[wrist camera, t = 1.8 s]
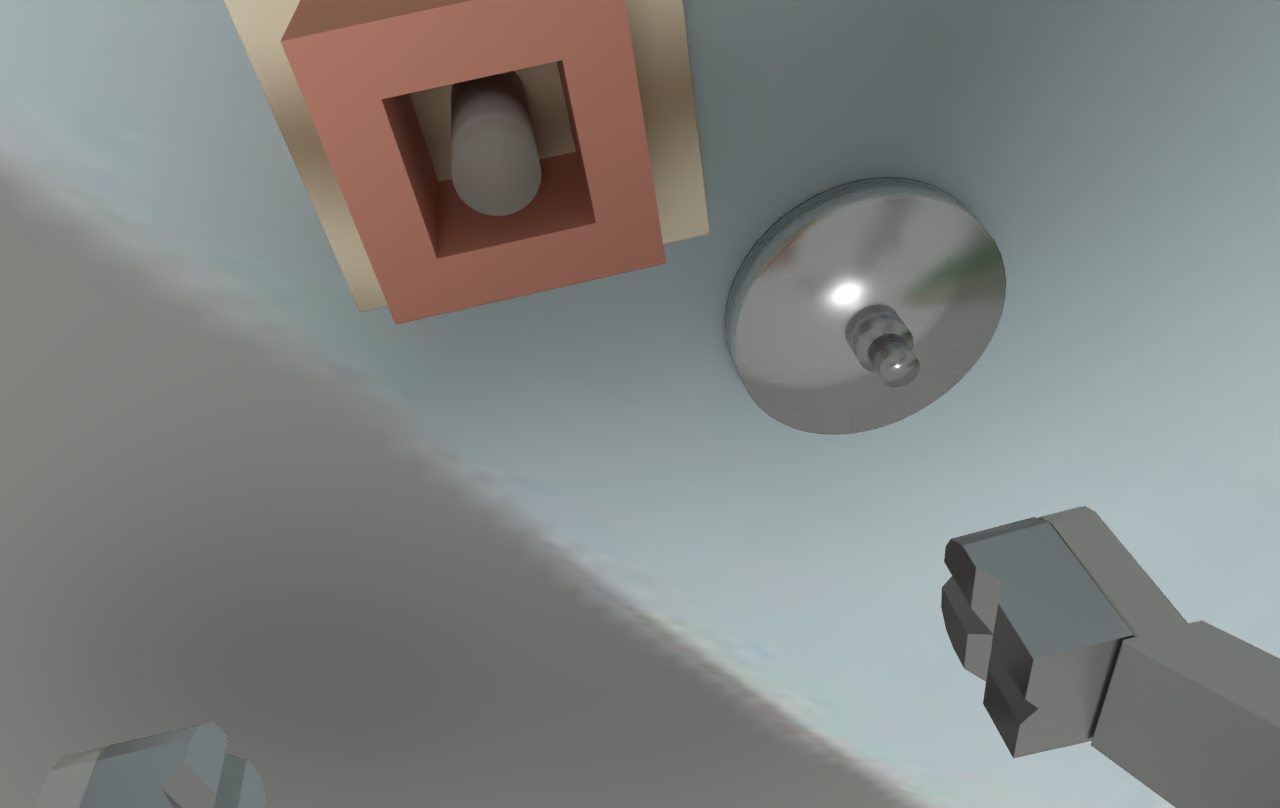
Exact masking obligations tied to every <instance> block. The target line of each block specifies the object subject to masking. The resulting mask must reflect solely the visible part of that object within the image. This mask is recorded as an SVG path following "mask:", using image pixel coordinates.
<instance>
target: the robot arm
mask: <svg viewBox="0 0 1280 808" xmlns="http://www.w3.org/2000/svg"><path fill="white" fill-rule="evenodd" d="M944 562H945V564H946V566H947V567H948V569H949V571H950V572H951V574H952V577H951V578H950V579H949V580H948V581H947V582H946V584H945V585H944V586H943V587H942V602H941V608H942V612H943V617H944V622H945V626H946V630H947V633H948V635H949V638H950V641H951V643H952V646H953V648H954V650H955V652H956V654H957V656H958V658H959V660H960V661H961V663H962V665H963V667H964V668H965V669H966V670H968V671H969V672H971V673H973V674H974V675H976V676H978V677H979V678H981V679H983V680H984V681H986V686H985V694H984V701H983V704H984V706H985V708H986V710H987V711H988V713H989V715H990V717H991V719H992V720H993V722H994V724H995V726H996V728H997V729H998V731H999V733H1000V735H1001V737H1002V738H1003V740H1004V742H1005V744H1006V746H1007V748H1008V749H1009V751H1010V753H1011V755H1012V757H1013V758H1017V757H1021V756H1026V755H1030V754H1035V753H1039V752H1044V751H1048V750H1052V749H1057V748H1061V747H1066V746H1070V745H1075V744H1079V743H1084V742H1088V741H1092V743H1091V746H1093V747H1094V748H1095V749H1097V750H1098V751H1099V752H1101V753H1102V754H1104V755H1105V756H1106V757H1108V758H1109V759H1110V760H1112V761H1113V762H1114V763H1116V764H1117V765H1119V766H1120V767H1121V768H1123V769H1124V770H1125V771H1127V772H1128V773H1129V774H1131V775H1132V776H1134V777H1135V778H1136V779H1138V780H1139V781H1140V782H1142V783H1143V784H1144V785H1146V786H1147V787H1149V788H1150V789H1151V790H1153V791H1154V792H1155V793H1157V794H1158V795H1159V796H1161V797H1162V798H1163V799H1165V800H1166V801H1168V802H1169V803H1170V804H1172V805H1173V806H1174V807H1176V808H1280V658H1278V657H1275V656H1273V655H1271V654H1269V653H1267V652H1265V651H1263V650H1261V649H1259V648H1257V647H1255V646H1253V645H1251V644H1249V643H1247V642H1245V641H1243V640H1241V639H1239V638H1237V637H1235V636H1233V635H1231V634H1229V633H1227V632H1225V631H1223V630H1220V629H1218V628H1216V627H1214V626H1212V625H1210V624H1208V623H1206V622H1204V621H1198V622H1193V623H1187V621H1186V620H1185V619H1184V618H1183V617H1182V615H1181V614H1180V613H1179V612H1178V611H1177V609H1176V608H1175V607H1174V606H1173V605H1172V603H1171V602H1170V601H1169V600H1168V599H1167V597H1166V596H1165V595H1164V594H1163V593H1162V591H1161V590H1160V589H1159V588H1158V587H1157V585H1156V584H1155V583H1154V582H1153V581H1152V579H1151V578H1150V577H1149V576H1148V574H1147V573H1146V572H1145V571H1144V570H1143V568H1142V567H1141V566H1140V565H1139V564H1138V562H1137V561H1136V560H1135V559H1134V558H1133V556H1132V555H1131V554H1130V553H1129V552H1128V550H1127V549H1126V548H1125V547H1124V546H1123V544H1122V543H1121V542H1120V541H1119V540H1118V538H1117V537H1116V536H1115V535H1114V534H1113V532H1112V531H1111V530H1110V529H1109V528H1108V526H1107V525H1106V524H1105V523H1104V521H1103V520H1102V519H1101V518H1100V517H1099V515H1098V514H1097V513H1096V512H1095V511H1093V510H1091V509H1089V508H1088V507H1086V506H1083V507H1077V508H1073V509H1069V510H1065V511H1061V512H1058V513H1054V514H1050V515H1046V516H1042V517H1039V518H1035V517H1033V518H1029V519H1025V520H1021V521H1017V522H1014V523H1010V524H1006V525H1002V526H998V527H994V528H991V529H987V530H983V531H979V532H975V533H971V534H968V535H964V536H960V537H956V538H952V539H950V541H949V542H948V544H947V545H946V549H945V559H944ZM227 741H228V737H227V736H226V735H225V734H224V733H223V732H222V731H221V730H220V729H219V728H218V727H217V726H216V725H215V724H214V723H213V722H210V723H206V724H201V725H197V726H192V727H188V728H183V729H179V730H175V731H170V732H166V733H161V734H157V735H152V736H148V737H143V738H139V739H134V740H130V741H125V742H121V743H116V744H111V745H107V746H103V747H99V748H95V749H90V750H86V751H82V752H78V753H73V754H69V755H65V756H62V757H61V758H60V759H59V760H58V762H57V763H56V764H55V765H54V766H53V767H52V768H51V770H50V771H49V772H48V774H47V776H46V779H45V781H44V784H43V786H42V789H41V791H40V794H39V797H38V799H37V802H36V804H35V807H34V808H266V806H265V794H264V787H263V785H262V783H261V780H260V778H259V775H258V773H257V771H256V769H255V768H254V767H253V766H252V765H251V763H250V762H249V761H248V760H247V759H245V758H242V757H238V756H235V755H232V754H229V753H226V752H225V751H226V746H227Z"/></svg>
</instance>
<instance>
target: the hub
mask: <svg viewBox="0 0 1280 808" xmlns="http://www.w3.org/2000/svg"><path fill="white" fill-rule="evenodd" d="M1005 291H1006V277H1005V268H1004V264H1003V260H1002V257H1001V253H1000V251H999V249H998V247H997V245H996V243H995V241H994V240H993V238H992V237H991V236H990V234H989V233H988V232H987V230H986V229H985V228H984V227H983V226H982V225H981V224H980V223H979V222H978V221H977V220H976V219H975V218H974V217H973V216H972V215H971V214H970V213H969V212H968V211H967V210H966V209H965V208H964V207H962V206H961V205H960V204H959V203H958V202H957V201H956V200H955V199H954V198H953V197H951V196H950V195H948V194H946V193H945V192H943V191H942V190H940V189H938V188H935V187H933V186H931V185H928V184H926V183H922V182H918V181H914V180H910V179H900V178H874V179H867V180H861V181H855V182H852V183H848V184H845V185H841V186H838V187H835V188H833V189H830V190H828V191H826V192H823V193H821V194H818V195H817V196H815V197H813V198H811V199H809V200H808V201H806V202H804V203H802V204H800V205H799V206H798V207H796V208H795V209H793V210H792V211H790V212H789V213H788V214H786V215H785V216H784V217H782V218H781V219H780V220H779V221H778V222H777V223H776V224H774V225H773V226H772V227H771V228H770V229H769V230H768V231H767V232H766V233H765V234H764V235H763V236H762V238H761V239H760V240H759V241H758V242H757V243H756V245H755V246H754V247H753V249H752V250H751V251H750V253H749V254H748V255H747V257H746V258H745V260H744V262H743V264H742V266H741V267H740V269H739V271H738V273H737V275H736V277H735V280H734V282H733V285H732V287H731V290H730V294H729V298H728V302H727V307H726V316H725V330H726V338H727V343H728V348H729V350H730V353H731V356H732V358H733V361H734V363H735V365H736V368H737V370H738V372H739V375H740V377H741V379H742V382H743V384H744V386H745V388H746V390H747V391H748V393H749V395H750V396H751V398H752V399H753V400H754V401H755V403H756V404H757V405H758V406H759V407H760V408H761V409H762V410H763V411H764V412H766V413H767V414H768V415H769V416H771V417H772V418H774V419H776V420H777V421H779V422H781V423H783V424H785V425H787V426H790V427H792V428H795V429H798V430H802V431H806V432H811V433H818V434H850V433H858V432H863V431H868V430H872V429H876V428H879V427H883V426H886V425H889V424H891V423H894V422H897V421H899V420H902V419H904V418H906V417H908V416H910V415H912V414H914V413H916V412H918V411H920V410H921V409H923V408H924V407H926V406H928V405H929V404H931V403H933V402H934V401H935V400H937V399H938V398H939V397H941V396H942V395H944V394H945V393H946V392H947V391H948V390H950V389H951V388H952V387H953V386H954V385H955V384H956V383H958V382H959V381H960V380H961V379H962V378H963V376H964V375H965V374H966V373H967V372H968V371H969V370H970V369H971V368H972V367H973V365H974V364H975V363H976V361H977V360H978V359H979V358H980V356H981V355H982V353H983V352H984V350H985V349H986V347H987V345H988V344H989V342H990V340H991V338H992V336H993V334H994V332H995V330H996V328H997V325H998V322H999V320H1000V317H1001V314H1002V310H1003V305H1004V300H1005Z"/></svg>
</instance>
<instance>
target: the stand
mask: <svg viewBox="0 0 1280 808" xmlns="http://www.w3.org/2000/svg"><path fill="white" fill-rule="evenodd" d="M224 1H225V4H226V6H227V8H228V10H229V13H230V15H231V17H232V20H233V22H234V24H235V27H236V29H237V31H238V34H239V36H240V38H241V40H242V43H243V45H244V47H245V50H246V52H247V54H248V57H249V59H250V61H251V63H252V66H253V68H254V70H255V73H256V75H257V77H258V80H259V82H260V84H261V86H262V89H263V91H264V93H265V96H266V98H267V100H268V103H269V105H270V107H271V109H272V112H273V114H274V116H275V119H276V121H277V123H278V126H279V128H280V130H281V132H282V135H283V137H284V139H285V142H286V144H287V146H288V149H289V151H290V153H291V155H292V158H293V160H294V162H295V165H296V167H297V169H298V172H299V174H300V176H301V178H302V181H303V183H304V185H305V188H306V190H307V192H308V195H309V197H310V199H311V202H312V204H313V206H314V208H315V211H316V213H317V215H318V218H319V220H320V222H321V225H322V227H323V229H324V231H325V234H326V236H327V238H328V241H329V243H330V245H331V248H332V250H333V252H334V254H335V257H336V259H337V261H338V264H339V266H340V268H341V271H342V273H343V275H344V277H345V280H346V282H347V284H348V287H349V289H350V291H351V294H352V296H353V298H354V300H355V303H356V305H357V307H358V310H359V312H364V311H369V310H373V309H377V308H382V307H386V306H388V305H387V302H386V300H385V297H384V295H383V292H382V290H381V287H380V285H379V282H378V280H377V278H376V275H375V273H374V270H373V268H372V265H371V263H370V260H369V258H368V255H367V253H366V251H365V248H364V246H363V243H362V241H361V238H360V236H359V233H358V231H357V228H356V226H355V224H354V221H353V219H352V216H351V214H350V211H349V209H348V206H347V204H346V201H345V199H344V196H343V194H342V192H341V189H340V187H339V184H338V182H337V179H336V177H335V174H334V172H333V169H332V167H331V165H330V162H329V160H328V157H327V155H326V152H325V150H324V147H323V145H322V142H321V140H320V138H319V135H318V133H317V130H316V128H315V125H314V123H313V120H312V118H311V115H310V113H309V110H308V108H307V106H306V103H305V101H304V98H303V96H302V93H301V91H300V88H299V86H298V83H297V81H296V79H295V76H294V74H293V71H292V69H291V66H290V64H289V61H288V59H287V56H286V54H285V52H284V49H283V47H282V44H281V42H280V41H281V39H282V37H283V35H284V33H285V31H286V29H287V27H288V25H289V23H290V20H291V18H292V16H293V14H294V12H295V10H296V8H297V6H298V4H299V2H300V0H224ZM625 3H626V9H627V16H628V22H629V29H630V35H631V42H632V48H633V54H634V61H635V67H636V74H637V80H638V86H639V93H640V99H641V106H642V112H643V118H644V125H645V131H646V138H647V144H648V150H649V157H650V163H651V170H652V176H653V183H654V189H655V195H656V202H657V208H658V215H659V221H660V227H661V234H662V240H663V244H666V243H671V242H675V241H679V240H684V239H688V238H693V237H697V236H702V235H706V234H710V232H709V224H708V215H707V207H706V198H705V189H704V181H703V172H702V164H701V155H700V146H699V138H698V129H697V120H696V112H695V103H694V95H693V86H692V77H691V69H690V60H689V52H688V43H687V34H686V26H685V17H684V9H683V0H625ZM409 94H410V97H411V100H412V103H413V106H414V109H415V112H416V115H417V118H418V121H419V124H420V127H421V130H422V133H423V136H424V140H425V143H426V146H427V149H428V152H429V155H430V158H431V161H432V164H433V167H434V170H435V173H436V176H437V179H438V182H440V181H445V180H449V179H452V180H453V184H454V187H455V190H456V192H457V193H458V195H459V197H460V198H461V199H462V200H463V201H464V202H465V203H466V204H467V205H468V206H469V207H471V208H472V209H474V210H476V211H478V212H480V213H483V214H486V215H492V216H503V215H509V214H512V213H515V212H517V211H519V210H521V209H523V208H524V207H526V206H527V205H528V204H529V203H530V202H531V201H532V200H533V198H534V197H535V195H536V194H537V192H538V189H539V187H540V183H541V168H540V162H539V160H540V159H545V158H549V157H554V156H558V155H563V154H567V153H572V152H576V150H575V145H574V140H573V135H572V131H571V126H570V121H569V117H568V112H567V107H566V102H565V98H564V93H563V88H562V84H561V79H560V74H559V70H558V65H557V61H556V62H551V63H547V64H542V65H538V66H533V67H528V68H524V69H519V70H515V71H510V72H505V73H501V74H496V75H492V76H487V77H482V78H478V79H473V80H469V81H464V82H459V83H455V84H450V85H446V86H441V87H436V88H432V89H427V90H423V91H418V92H413V93H409Z"/></svg>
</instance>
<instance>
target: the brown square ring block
mask: <svg viewBox="0 0 1280 808" xmlns="http://www.w3.org/2000/svg"><path fill="white" fill-rule="evenodd" d="M280 42H281V44H282V47H283V49H284V52H285V54H286V56H287V59H288V61H289V64H290V66H291V69H292V71H293V74H294V76H295V79H296V81H297V83H298V86H299V88H300V91H301V93H302V96H303V98H304V101H305V103H306V106H307V108H308V110H309V113H310V115H311V118H312V120H313V123H314V125H315V128H316V130H317V133H318V135H319V138H320V140H321V142H322V145H323V147H324V150H325V152H326V155H327V157H328V160H329V162H330V165H331V167H332V169H333V172H334V174H335V177H336V179H337V182H338V184H339V187H340V189H341V192H342V194H343V196H344V199H345V201H346V204H347V206H348V209H349V211H350V214H351V216H352V219H353V221H354V224H355V226H356V228H357V231H358V233H359V236H360V238H361V241H362V243H363V246H364V248H365V251H366V253H367V255H368V258H369V260H370V263H371V265H372V268H373V270H374V273H375V275H376V278H377V280H378V282H379V285H380V287H381V290H382V292H383V295H384V297H385V300H386V302H387V305H388V307H389V309H390V312H391V314H392V317H393V319H394V322H395V324H399V323H404V322H408V321H413V320H417V319H422V318H426V317H430V316H435V315H439V314H444V313H448V312H452V311H457V310H461V309H466V308H470V307H475V306H479V305H483V304H488V303H492V302H497V301H501V300H506V299H510V298H514V297H519V296H523V295H528V294H532V293H537V292H541V291H545V290H550V289H554V288H559V287H563V286H568V285H572V284H576V283H581V282H585V281H590V280H594V279H599V278H603V277H607V276H612V275H616V274H621V273H625V272H630V271H634V270H638V269H643V268H647V267H652V266H656V265H660V264H665V263H666V259H665V253H664V247H663V240H662V234H661V227H660V221H659V215H658V208H657V202H656V195H655V189H654V183H653V176H652V170H651V163H650V157H649V150H648V144H647V138H646V131H645V125H644V118H643V112H642V106H641V99H640V93H639V86H638V80H637V74H636V67H635V61H634V54H633V48H632V42H631V35H630V29H629V22H628V16H627V9H626V3H625V0H300V2H299V4H298V6H297V8H296V10H295V12H294V14H293V16H292V18H291V20H290V23H289V25H288V27H287V29H286V31H285V33H284V35H283V37H282V39H281V41H280ZM556 61H557V65H558V70H559V74H560V79H561V84H562V88H563V93H564V98H565V102H566V107H567V112H568V117H569V121H570V126H571V131H572V135H573V140H574V145H575V150H576V152H572V153H567V154H563V155H558V156H554V157H549V158H545V159H540V160H539V162H540V168H541V183H540V187H539V189H538V192H537V194H536V195H535V197H534V198H533V200H532V201H531V202H530V203H529V204H528V205H527V206H526V207H524V208H523V209H521V210H519V211H517V212H515V213H512V214H509V215H503V216H492V215H486V214H483V213H480V212H478V211H476V210H474V209H472V208H471V207H469V206H468V205H467V204H466V203H465V202H464V201H463V200H462V199H461V198H460V197H459V195H458V193H457V192H456V190H455V187H454V184H453V180H452V179H449V180H445V181H440V182H438V179H437V176H436V173H435V170H434V167H433V164H432V161H431V158H430V155H429V152H428V149H427V146H426V143H425V140H424V136H423V133H422V130H421V127H420V124H419V121H418V118H417V115H416V112H415V109H414V106H413V103H412V100H411V97H410V94H409V93H413V92H418V91H423V90H427V89H432V88H436V87H441V86H446V85H450V84H455V83H459V82H464V81H469V80H473V79H478V78H482V77H487V76H492V75H496V74H501V73H505V72H510V71H515V70H519V69H524V68H528V67H533V66H538V65H542V64H547V63H551V62H556Z"/></svg>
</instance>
